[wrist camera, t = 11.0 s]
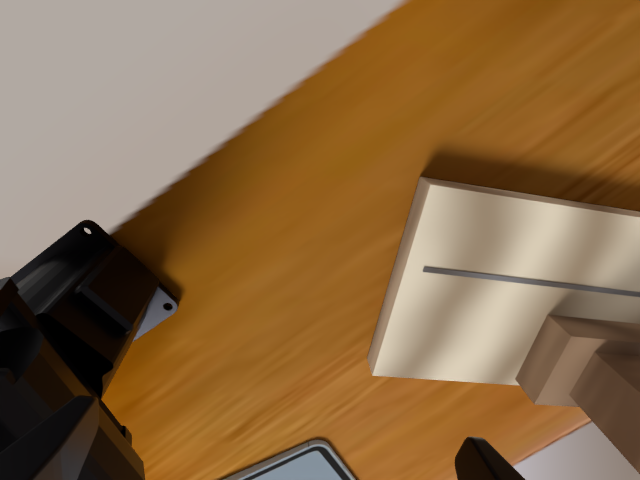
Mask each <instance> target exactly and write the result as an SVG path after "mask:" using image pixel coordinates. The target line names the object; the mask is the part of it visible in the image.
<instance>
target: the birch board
mask: <svg viewBox="0 0 640 480" xmlns="http://www.w3.org/2000/svg"><path fill="white" fill-rule="evenodd" d="M547 314H548V315H558V316H567V317H577V318H587V319H597V320H607V321H617V322H627V323H637V324H640V212H638V211H632V210H626V209H620V208H613V207H607V206H601V205H595V204H588V203H582V202H576V201H570V200H563V199H557V198H551V197H545V196H538V195H532V194H526V193H520V192H513V191H507V190H501V189H494V188H488V187H482V186H476V185H469V184H463V183H457V182H451V181H444V180H438V179H432V178H426V177H420V178H419V181H418V185H417V188H416V192H415V195H414V199H413V202H412V206H411V209H410V212H409V216H408V219H407V223H406V226H405V230H404V233H403V237H402V240H401V243H400V247H399V250H398V254H397V257H396V261H395V264H394V267H393V271H392V274H391V278H390V281H389V285H388V288H387V292H386V295H385V298H384V302H383V305H382V309H381V312H380V316H379V319H378V323H377V326H376V329H375V333H374V336H373V340H372V343H371V347H370V350H369V354H368V357H367V359H368V363H369V366H370V369H371V372H372V375H373V376H388V377H403V378H418V379H433V380H448V381H463V382H478V383H493V384H508V385H519V384H518V382H517V381H516V380H515V378H516V376H517V374H518V372H519V370H520V368H521V366H522V364H523V362H524V360H525V358H526V356H527V354H528V352H529V350H530V348H531V346H532V344H533V342H534V340H535V338H536V336H537V334H538V332H539V330H540V328H541V326H542V324H543V322H544V320H545V318H546V316H547Z"/></svg>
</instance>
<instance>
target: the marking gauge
mask: <svg viewBox="0 0 640 480" xmlns="http://www.w3.org/2000/svg"><path fill="white" fill-rule="evenodd" d="M515 380H516V381H517V382H518V384H519V385H520V386H521V387H522V389H523V390H524V391H525V393H526V394H527V395H528V397H529V398H530V399H531V401H532V402H533V403H534V404H538V405H556V406H573V407H580V408H581V409H582V410H583V411H584V412H585V413H586V414H587V415H588V417H589V418H590V419H591V420H592V421H593V422H594V423H595V424H596V426H597V427H598V428H599V429H600V430H601V431H602V432H603V433H604V435H605V436H606V437H607V438H608V439H609V440H610V441H611V442H612V443H613V445H614V446H615V447H616V448H617V449H618V450H619V451H620V452H621V454H623V456H624V457H625V458H626V459H627V460H628V461H629V463H630V464H631V465H632V466H633V467H634V468H635V469H636V470H637V472H639V474H640V324H637V323H627V322H617V321H607V320H597V319H587V318H577V317H567V316H558V315H548V314H547V316H546V318H545V320H544V322H543V324H542V326H541V328H540V330H539V332H538V334H537V336H536V338H535V340H534V342H533V344H532V346H531V348H530V350H529V352H528V354H527V356H526V358H525V360H524V362H523V364H522V366H521V368H520V370H519V372H518V374H517V376H516V378H515Z"/></svg>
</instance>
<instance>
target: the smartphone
mask: <svg viewBox="0 0 640 480" xmlns="http://www.w3.org/2000/svg"><path fill="white" fill-rule="evenodd" d="M223 480H356V479H355V478H354V476H353V475H352V474H351V473H350V471H349V470H348V469H347V467H346V466H345V465H344V464H343V463H342V461H341V460H340V458H339V457H338V456H337V454H336V453H335V452H334V451H333V449H332V448H331V447H330V445H329V444H328V443H327V442H325V441H323V440H312V441H309V442H307V443H304V444H302V445H300V446H298V447H295V448H293V449H291V450H289V451H286V452H284V453H282V454H279V455H277V456H275V457H273V458H271V459H268V460H266V461H264V462H261V463H259V464H257V465H255V466H252V467H250V468H248V469H245V470H243V471H241V472H239V473H236V474H234V475H232V476H230V477H227V478H225V479H223Z"/></svg>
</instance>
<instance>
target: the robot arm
mask: <svg viewBox="0 0 640 480" xmlns="http://www.w3.org/2000/svg"><path fill="white" fill-rule="evenodd" d="M84 228H88V229H89V230H90V231H91V234H88V233H86V232H85V231H84ZM165 303H170V304H172V306H171V307H170V306H167V305H166V304H165ZM178 306H179V300H178V299H177V298H176V297H175V296H174V295H173V294H172V293H171V292H170V291H169V290H168V289H167V288H166V287H164V286H163V285H162V284H161V283H160V282H159V279H158V278H157V277H156V276H155V275H154V274H153V273H152V272H151V271H150V270H148V269H147V268H146V267H145V266H144V265H143V264H142V263H141V262H140V261H139V260H138V259H137V258H136V257H134V256H133V255H132V254H131V253H130V252H129V251H128V250H127V249H126V248H125V247H122V246H120V245H119V244H118V243H117V242H116V241H115V240H114V239H113V238H112V237H111V236H109V235H108V234H107V233H106V232H105V231H104V230H103V229H102V228H101V227H100V226H99V225H97V224H96V223H95V222H93V221H91V220H84V221H82V222H80V223H79V224H78V225H76V226H75V227H74V228H72V230H70V231H69V232H67V233H66V234H65V235H64V236H63V237H61V238H60V239H58V240H57V241H56V242H55V243H53V244H52V245H51V246H50V247H48V248H47V249H46V250H44V251H43V252H42V253H41V254H39V255H38V256H37V257H36V258H34V259H33V260H32V261H30V262H29V263H28V264H27V265H25V266H24V267H23V268H21V269H20V270H19V271H18V272H17V273H15V274H14V275H13V276H11V277H7V278H3V279H0V480H145V474H144V465H143V461H142V460H141V459H140V457H139V456H138V455H137V453H136V452H135V451H134V449H133V448H132V435H131V433H130V432H129V430H128V429H127V428H126V426H121V425H120V423H119V422H118V421H117V419H116V418H115V417H114V416H113V414H112V413H111V412H110V410H109V409H108V408H107V407H106V405H105V404H104V403H103V401H102V400H101V399H102V397H103V395H104V393H105V392H106V390H107V388H108V386H109V384H110V382H111V380H112V379H113V377H114V375H115V373H116V371H117V369H118V368H119V366H120V364H121V362H122V360H123V358H124V356H125V355H126V353H127V351H128V349H129V347H130V345H131V344H132V342H133V341H134V340H136V339H137V338H139V337H140V336H142V335H143V334H145V333H146V332H147V331H149V330H150V329H152V328H153V327H155V326H156V325H158V324H159V323H160V322H162V321H163V320H165V319H166V318H168V317H169V316H171V315H172V314H174V313H175V312H176V311H177V309H178ZM455 469H456V473H457V478H458V480H525V479H524V478H523V477H522V476H521V475H520V474H519V473H518V472H517V471H516V470H515V469H514V468H513V467H512V466H511V465H510V464H509V463H508V462H507V461H506V460H505V459H504V458H503V457H502V456H501V455H500V454H499V453H498V452H497V451H496V450H495V449H494V448H493V447H492V446H491V445H490V444H489V443H488V442H487V441H486V440H485V439H483V438H480V437H467V438H466V439H465V440H464V442H463V444H462V446H461V448H460V449H459V451H458V453H457V455H456V457H455Z"/></svg>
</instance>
